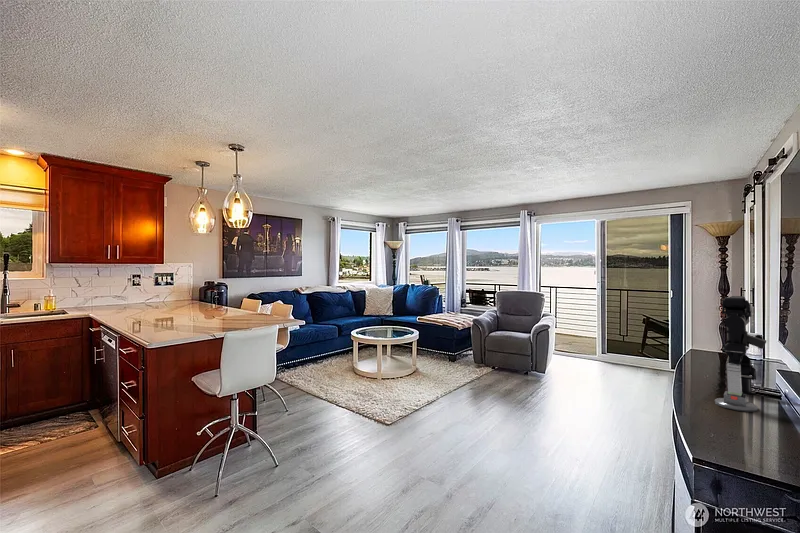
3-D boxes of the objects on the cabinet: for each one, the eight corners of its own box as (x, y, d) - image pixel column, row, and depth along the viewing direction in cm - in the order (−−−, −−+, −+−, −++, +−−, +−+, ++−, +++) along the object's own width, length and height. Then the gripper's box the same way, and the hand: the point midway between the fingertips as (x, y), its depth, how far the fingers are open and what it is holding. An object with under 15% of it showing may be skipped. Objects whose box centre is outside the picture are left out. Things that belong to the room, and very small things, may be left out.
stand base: (717, 399, 147) (716, 387, 147) (758, 406, 138) (758, 394, 138) (712, 406, 138) (712, 394, 139) (756, 414, 130) (756, 401, 130)
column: (729, 392, 141) (727, 362, 141) (742, 394, 138) (740, 364, 139) (727, 394, 138) (726, 364, 139) (741, 396, 136) (739, 366, 136)
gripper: (763, 332, 136) (765, 374, 135) (765, 327, 148) (767, 365, 148) (723, 329, 144) (725, 369, 143) (728, 325, 156) (730, 361, 156)
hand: (738, 366), depth 147 cm, fingers open, 9 cm apart
